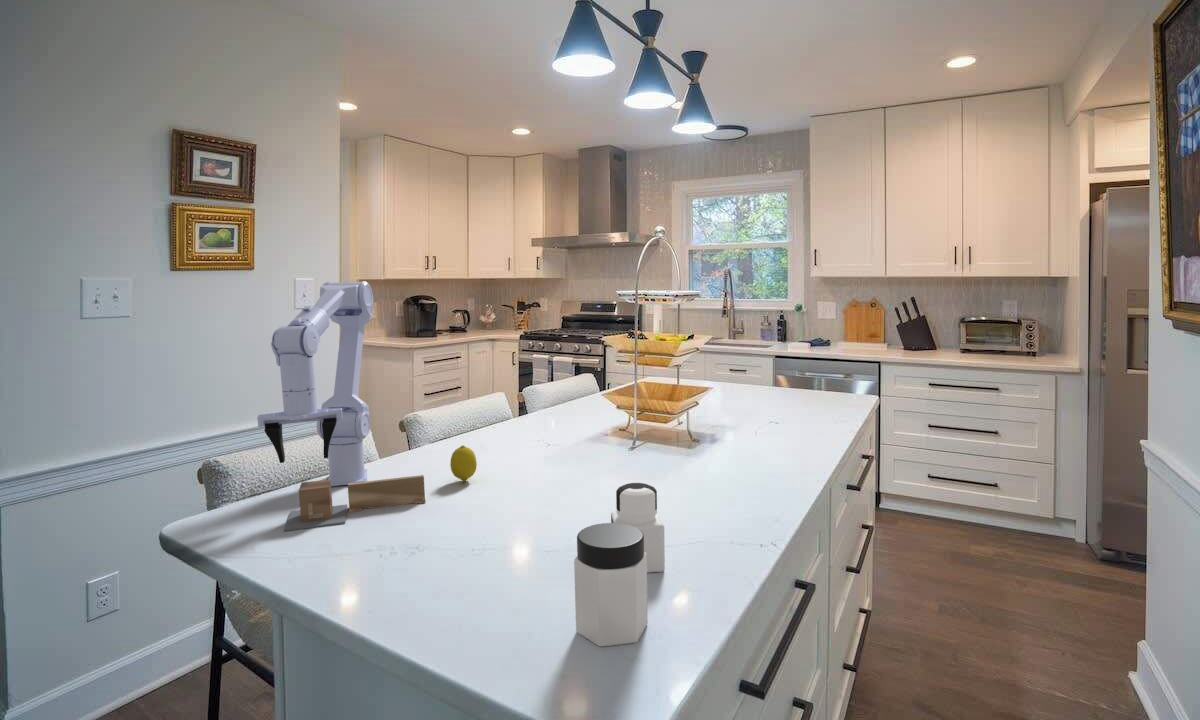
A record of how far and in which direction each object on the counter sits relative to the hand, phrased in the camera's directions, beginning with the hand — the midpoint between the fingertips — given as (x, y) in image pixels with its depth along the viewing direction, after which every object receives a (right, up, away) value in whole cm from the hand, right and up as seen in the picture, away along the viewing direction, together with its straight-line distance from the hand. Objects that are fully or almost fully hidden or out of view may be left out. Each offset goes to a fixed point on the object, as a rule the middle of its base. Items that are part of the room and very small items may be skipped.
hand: (304, 459), depth 124 cm
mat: (+4, -10, -4) cm, 12 cm away
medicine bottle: (+62, -12, -26) cm, 69 cm away
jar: (+58, -14, -45) cm, 75 cm away
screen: (+15, -9, +2) cm, 18 cm away
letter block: (+4, -10, -4) cm, 11 cm away
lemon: (+27, -8, +16) cm, 33 cm away
